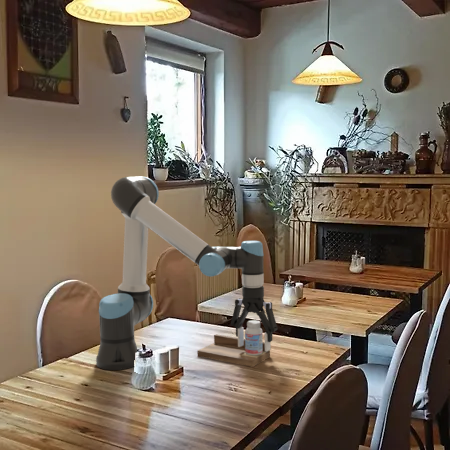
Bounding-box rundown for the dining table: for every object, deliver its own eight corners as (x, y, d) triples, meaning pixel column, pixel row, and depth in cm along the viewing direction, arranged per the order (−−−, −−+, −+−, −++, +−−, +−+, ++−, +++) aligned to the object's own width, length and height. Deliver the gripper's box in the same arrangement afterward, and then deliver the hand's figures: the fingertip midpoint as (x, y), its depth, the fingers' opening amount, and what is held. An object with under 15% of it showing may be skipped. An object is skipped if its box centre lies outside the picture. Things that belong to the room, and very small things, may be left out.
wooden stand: (252, 366, 199) (252, 352, 198) (197, 356, 211) (197, 342, 211) (270, 356, 209) (269, 343, 208) (216, 347, 221) (216, 334, 221)
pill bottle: (242, 354, 205) (241, 323, 204) (250, 349, 210) (249, 319, 209) (258, 357, 202) (257, 325, 201) (265, 352, 208) (265, 320, 207)
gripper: (287, 286, 201) (288, 350, 203) (231, 280, 213) (232, 340, 215) (276, 290, 195) (277, 356, 197) (219, 284, 207) (221, 346, 209)
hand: (254, 348), depth 206 cm, fingers open, 10 cm apart
